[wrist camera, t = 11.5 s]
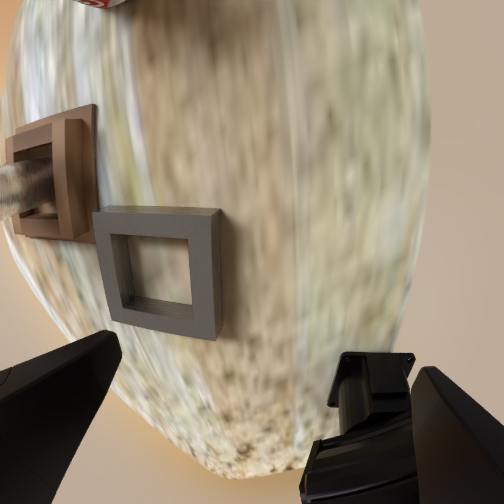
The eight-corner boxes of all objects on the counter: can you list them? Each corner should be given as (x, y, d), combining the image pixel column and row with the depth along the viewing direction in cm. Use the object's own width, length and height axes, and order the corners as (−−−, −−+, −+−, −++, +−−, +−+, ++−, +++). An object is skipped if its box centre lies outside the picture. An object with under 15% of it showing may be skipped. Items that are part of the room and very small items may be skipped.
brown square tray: (102, 242, 21) (84, 252, 19) (28, 235, 23) (11, 243, 21) (95, 104, 17) (74, 102, 15) (18, 128, 19) (0, 130, 17)
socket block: (222, 325, 22) (215, 341, 20) (123, 308, 23) (111, 320, 21) (220, 208, 19) (210, 215, 17) (107, 205, 20) (91, 212, 18)
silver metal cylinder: (65, 201, 20) (-43, 244, 10) (38, 202, 21) (-58, 241, 10) (62, 153, 19) (-53, 177, 8) (35, 159, 19) (-66, 184, 9)
